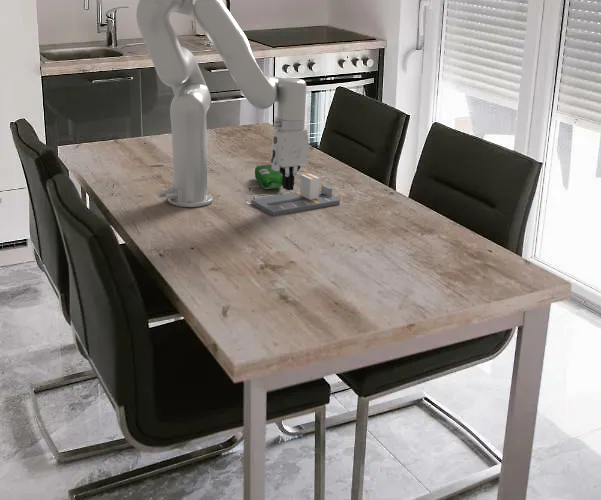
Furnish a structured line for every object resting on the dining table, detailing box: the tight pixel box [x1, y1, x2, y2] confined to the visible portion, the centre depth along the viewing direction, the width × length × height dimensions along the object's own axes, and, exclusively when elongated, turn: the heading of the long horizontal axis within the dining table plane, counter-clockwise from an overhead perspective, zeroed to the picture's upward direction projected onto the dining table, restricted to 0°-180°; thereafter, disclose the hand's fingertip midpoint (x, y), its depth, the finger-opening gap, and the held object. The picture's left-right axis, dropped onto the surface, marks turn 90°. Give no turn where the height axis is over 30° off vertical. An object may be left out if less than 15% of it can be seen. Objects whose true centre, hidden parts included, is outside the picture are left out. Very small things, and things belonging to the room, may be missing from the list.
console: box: [250, 184, 341, 217], centre depth 253 cm, size 22×12×4 cm, turn 123°
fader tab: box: [299, 172, 320, 200], centre depth 255 cm, size 3×5×6 cm, turn 33°
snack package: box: [254, 164, 283, 190], centre depth 269 cm, size 7×16×5 cm, turn 14°
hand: (287, 188), depth 251 cm, fingers closed
